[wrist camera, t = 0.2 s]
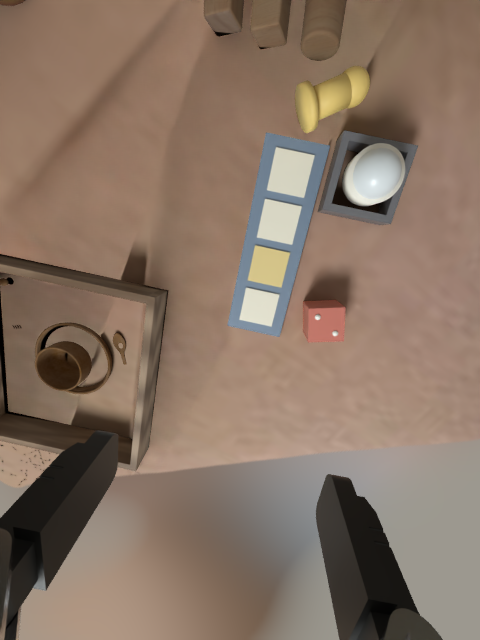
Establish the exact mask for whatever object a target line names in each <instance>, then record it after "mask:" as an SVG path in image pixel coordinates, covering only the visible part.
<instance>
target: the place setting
mask: <svg viewBox="0 0 480 640" xmlns="http://www.w3.org/2000/svg"><path fill="white" fill-rule="evenodd" d="M13 283H14V281H13V279H12V278H10V277H8V278H7V279H5V278H1V279H0V285H2V286H6V285H8V284H13ZM17 326H18V325H17ZM19 326H20V325H19ZM19 326H18V328H19ZM65 326H74V327H77V328H80V329H82V330H84V331H86V332H88V333H89V334H91V335H92V336H93V337H94V338H95V339H96V340H97V341H98V342H99V343H100V345H101V346H102V348H103V349H104V351H105V353H106V356H107V360H108V372H107V374H106V376H105V377H104V379H103V380H102V381H100V382H99V383H97V384H95V385H93V386H88V387H80V386H78V385H79V384H80V383H81V382H82V381H84V380H85V379H86V378H87V376H88V375H89V373H90V371H91V368H92V362H91V358H90V356H89V354H88V352H87V351H86V350H85V349H84V348H83V347H82V346H80V345H79V344H76V343H74V342H69V341H63V342H58V343H55V344H53V345H51V346H49V347H47V348H45V345H46V341H47V339H48V337H49V336H50V334H51V333H52V332H54V331H55V330H56V329H58V328H61V327H65ZM13 327H14V326H13ZM15 327H16V326H15ZM15 327H14V329H15ZM20 328H21V326H20ZM16 329H17V327H16ZM113 343H114V346H115V347H116V349H117V350H118V351H119V352H120V354H121V357H122V360H123V364H126V360H125V355H124V351H125V348H126V343H125V340H124V338H123V337H122V335H121V334H119V333H115V334H114V337H113ZM119 343H122V344H123V348H122V349H120V348H119V346H118V344H119ZM35 356H36V359H35V369H36V372H37V374H38V376H39V378H40V379H41V380H42V381H43V382H44V383H45V384H46V385H48V386H49V387H51V388H53V389H56V390H60V391H66V392H69V393H73V394H88V393H92V392H94V391H96V390H98V389H100V388H101V387H102V386H103V385H104V384H105V383H106V381H107V380H108V378H109V376H110V374H111V370H112V357H111V353H110V351H109V348H108V346H107V345H106V343H105V342H104V340H103V339H102V338H101V337H100V336H99V335H98V334H97V333H96V332H94V331H93V330H91V329H90V328H88V327H86V326H83V325H81V324H77V323H59V324H55V325H52V326H50V327H48V328H47V329H45V330H44V331H43V332H42V333H41V334H40V336H39V337H38V339H37V342H36V346H35Z"/></svg>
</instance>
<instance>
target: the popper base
mask: <svg viewBox="0 0 480 640" xmlns="http://www.w3.org/2000/svg"><path fill="white" fill-rule="evenodd" d="M377 143H386V144H390V145H392V146H394V147H395V148H397V149H398V150H399V152H400V153H401V154H402V156H403V159H404V162H405V176H404V179H403V182H402V184H401V186H400V188H399V189H398V191H397V192H396V193H395V194H394V195H393V196H392V197H390V198H389V199H387V200H385V201H383V202H381V204H380V207H379V210H378V213H374V212H369V211H364V210H359V209H355V208H350V207H345V206H340V205H336V204H331V203H332V200H333V196H334V193H335V189H336V186H337V182H338V179H339V175H340V172H341V168H342V164H343V161H344V157H345V154H346V150H350V151H354V152H359V153H360V152H361V151H362V150H363V149H365V148H366V147H368V146H370V145H373V144H377ZM417 148H418V146H417V145H412V144H408V143H403V142H398V141H393V140H388V139H384V138H379V137H374V136H369V135H364V134H359V133H355V132H350V131H345V130H344V131H343V133H342V134H341V135H340V137H339V138H338V139H337V142H336V146H335V150H334V153H333V157H332V161H331V164H330V168H329V172H328V175H327V179H326V183H325V187H324V190H323V194H322V198H321V201H320V205H319V209H318V212H320V213H325V214H330V215H334V216H339V217H344V218H349V219H353V220H358V221H363V222H367V223H372V224H377V225H386V224H391V222H392V219H393V216H394V213H395V210H396V207H397V205H398V202H399V199H400V196H401V193H402V190H403V187H404V185H405V182H406V179H407V176H408V173H409V170H410V168H411V165H412V162H413V159H414V156H415V153H416V150H417Z"/></svg>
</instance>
